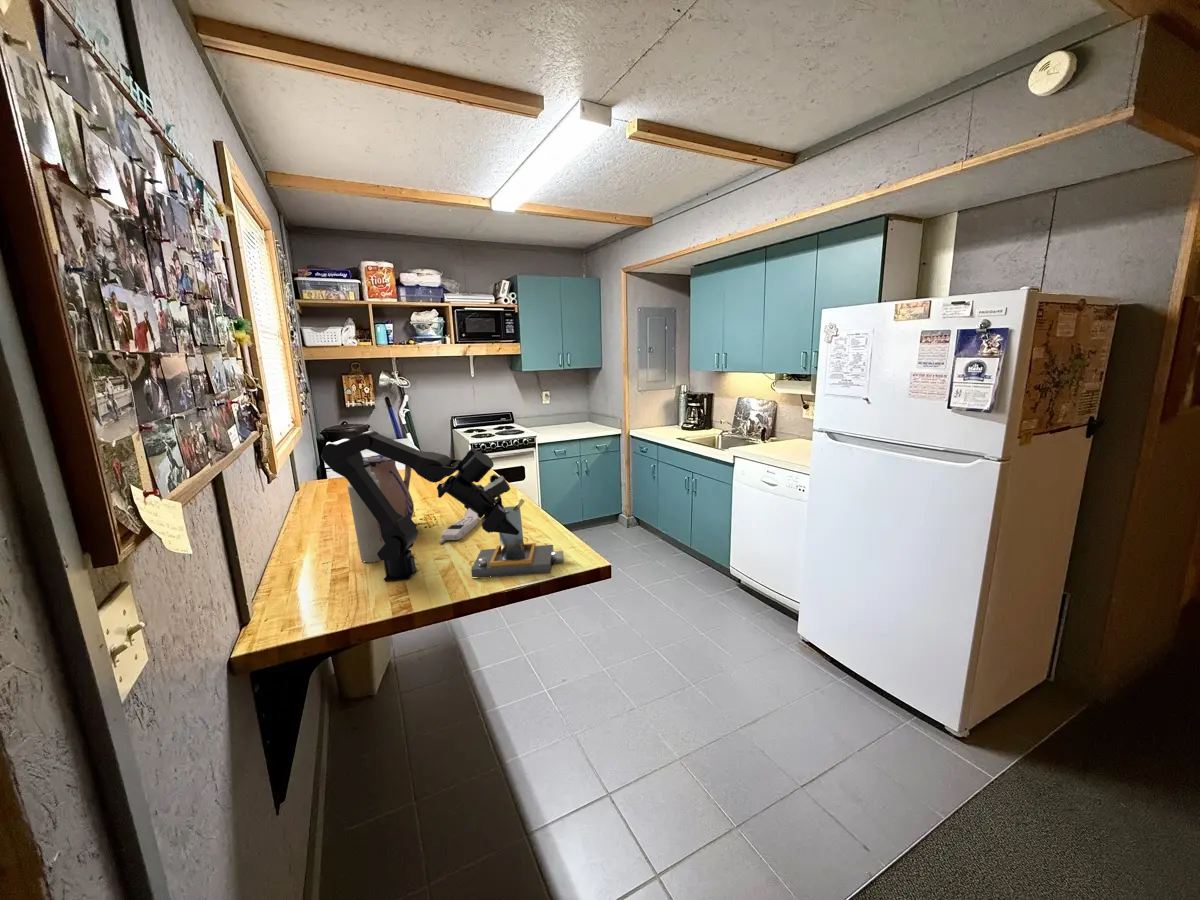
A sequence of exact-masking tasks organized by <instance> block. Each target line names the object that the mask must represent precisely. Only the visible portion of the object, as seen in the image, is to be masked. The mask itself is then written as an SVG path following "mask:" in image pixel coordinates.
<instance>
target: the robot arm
mask: <svg viewBox="0 0 1200 900" xmlns="http://www.w3.org/2000/svg"><path fill="white" fill-rule="evenodd" d="M365 450H368V451H370V452H373V453H376V454H377V455H382V456H385V457H387V458H389V459H392V460H394V461H395V462H398V463H400V464H402V465H403V466H405V465H407V466H409V467H410V468H411V470H413V471H414V472H415V473H416V474H417V475H418V476H420V477H421V478H423V479H424V480H426V481H428V482H429V483H435V484H436V483H438V482H440V481H442V480H444V479H445V478H446V477H448V478H446V480H445V481H443V483H438V484H437V486H436V490H437V496H438V498H439V499H440V498H442V497H443V496H444V495H445V493H446V494H448V495H450V496H451V497H453V499H455V500H457V501H458V502H459V503H461V504H462V505H463V508H464V509H466V510H467V509H468V508H469V509H471V510H472V511H474V512H475V513H477V516H478V517H479V519H480V520H481V527H482V528H481V529H482V530H484V531H485V532H487V534H490V533H498V534H499V533H506V534H512V535H518V534H519V530H518V529H517V528H516V527H515V526H514V525H513V524H512V523H511V522H510V521H509V520H508V519H507V518H506V511H505V510H504V509H503V508H504V507H505V506H504V505H503V500H502V496H501V495H503V494H505V493H508V492H509V491H510V490H511V487H510V484H509V483H508V481H507V480H506V479H505V477H504V476H503V475H497V474H495V473H494V474H491V475H490V476H489V482H488V483H487V485H485V486H483V485H481V484H477V483H479V482H481V480H483V478H484V477H486V475H487V474H488V472H489V471H490V470H492V468H493V467H494V465H495V464H494V462H493V460H492V459H491V457H490V456H489V455H487V454H485V453H483V452H481V451H479V450H476V449H475V448H473V447H472V448H470V449H469V451H467V453H466V454H465V456H464V457H463V458H462V459H455V458H451V457H449V456H448V455H446V454H444V453H443V454H442V453H438V452H432V451H422V450H419V449H416V448H414V447H412V446H409V445H406V444H404V443H402V442H400V441H397V440H394V439H392V438H389V437H388V436H384V435H382V434H380V433H379V432H378V431H375V430H369V431H365V432H362V433H360V434H359V435H357V436H355V437H352V438H351V439H349V438H342V439H340V440H337V441H333V442H330V443H328V444H326V445H324V446H323V448H322V449H321V454H320V457H321V459H322V461H323V463H325V465H327V466H328V467H329V468H330V470H332V471H333V472H334V473H336V474H337V475H340V476H341V477H344V478H345V479H346V480H347V482H348V483H349V484H351V486H352V487H353V489H354V490H355V491H356V493H357V494H358V495H359V497H360V498H361V500H362V501H363V502H364V504H365V505H366V506H367V508H368V509H369V511H370V512H371V513H372V515H373V516H374V517H375V519H376V520H377V521H378V523H379V525H380V532H381V537H382V539H383V541H384V543H385V544H384V546H383V547H382V548H381V549H380V550H379V551H378V553H377V555H378V557H379V558H380V560H382V561H383V565H384V570H385V577H384V578H383V581H384V580H385V581H384V582H388V581H387V580H393V581H405V580H406V579H407V580H410V578H411V577H412V576H413V574H414V573H415V572H416V570H417V569H418V568H417V566H416V559H415V556H414V555H413V553H412V552H413V551H412V547H414V543H415V542H416V540H417V539H418V536H419V531H418V528H417V527H418V524H417V523H415V522H414V521H413V519H412V518H411V517H410V515H409V514H407V515H405V516H402V515H400V514H398V513H397V512H396V511H395V510H394V508H393V507H392V506H391V504H390V503H389V501H388V500H387V499H386V497H385V496H384V494H383V493H382V492H381V490H380V489H379V487H378V486H377V485H376V483H375V482H374V480H373V479H372V478H371V476H370V475H369V474H368V472H367V471H366V469H365V468H364V464H363V458H364V457H363V454H362V451H365ZM456 472H457V473H456ZM455 473H456V474H455ZM453 474H455V475H453ZM475 483H476V484H475ZM414 571H415V572H414ZM411 575H412V576H411Z"/></svg>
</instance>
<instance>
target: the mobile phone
mask: <svg viewBox="0 0 1200 900" xmlns="http://www.w3.org/2000/svg"><path fill="white" fill-rule="evenodd" d="M479 519H480V518H479V517H478V516H477V513H475V512H474V511H472V510H471V509H469V508H468V509H466V512H465V514H464V516H463V517H462V518H461V519H459V520H458V521H456V522H455V523H453V524H451V525H449V526H448V527H447V528H446V529H445V530H444V531H442V533H441V540H439V542H438V543H439V544H440V545H441V544H443V543H444V542H446V541H458V540H460V539H462V538H465V536H466V535H467V534H468V533H469V532H470V531H472V529H474V528H475V527H476V526H477V525H478V524H479Z"/></svg>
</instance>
